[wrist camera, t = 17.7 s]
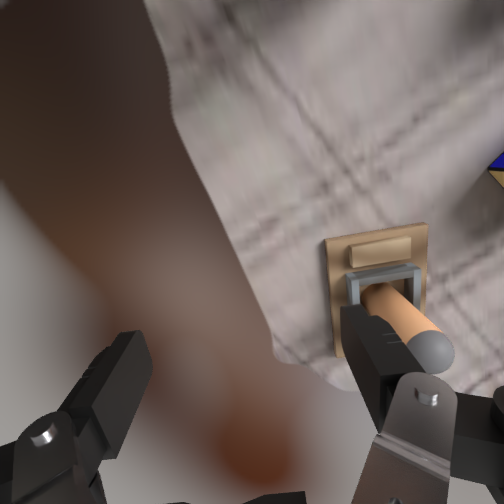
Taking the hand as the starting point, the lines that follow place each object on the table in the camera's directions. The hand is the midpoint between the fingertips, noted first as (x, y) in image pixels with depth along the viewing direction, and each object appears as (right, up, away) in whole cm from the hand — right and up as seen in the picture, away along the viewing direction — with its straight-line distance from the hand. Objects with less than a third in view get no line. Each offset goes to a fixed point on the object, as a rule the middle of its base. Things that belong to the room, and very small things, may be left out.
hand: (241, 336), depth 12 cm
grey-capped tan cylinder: (+19, -3, +31) cm, 37 cm away
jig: (+19, -3, +32) cm, 38 cm away
